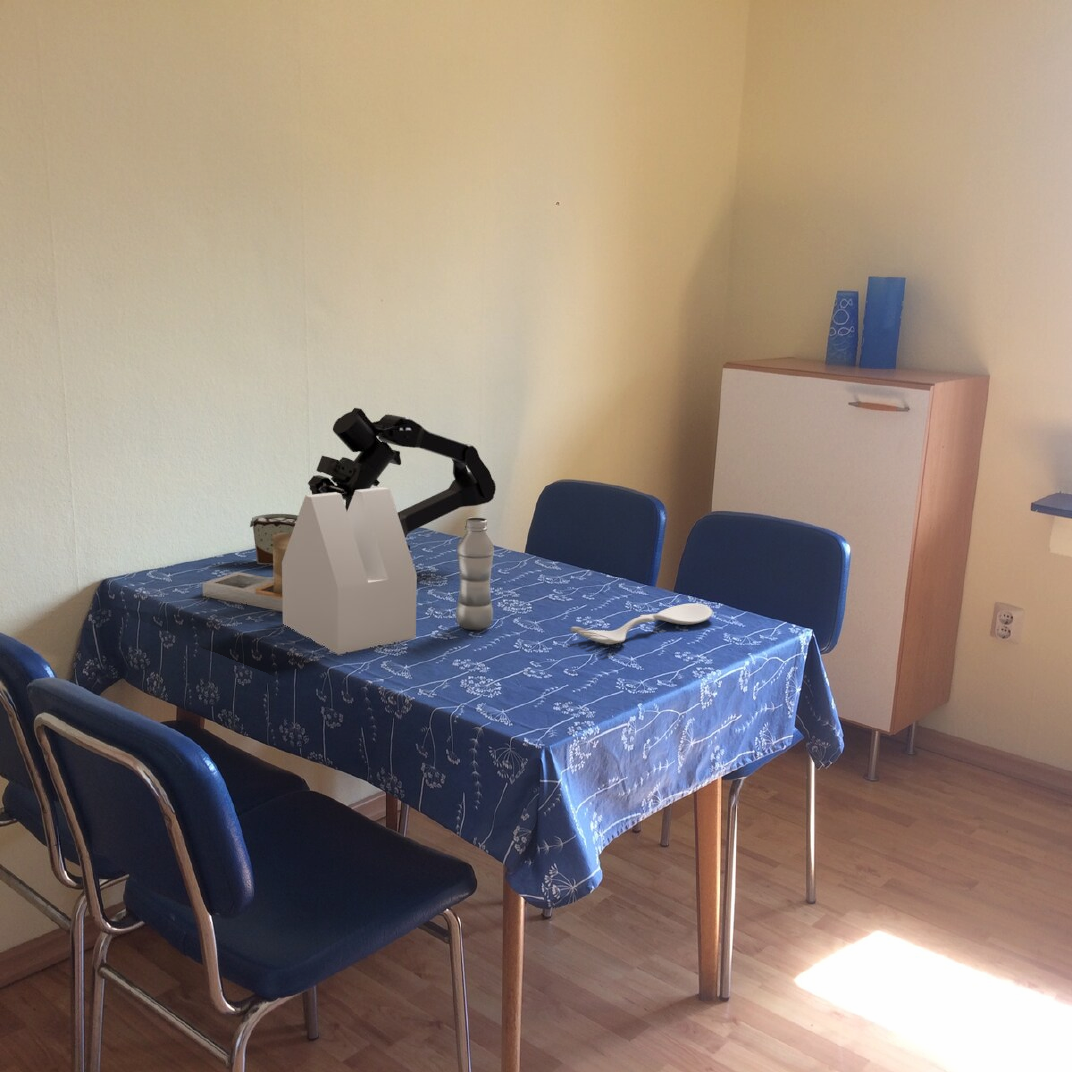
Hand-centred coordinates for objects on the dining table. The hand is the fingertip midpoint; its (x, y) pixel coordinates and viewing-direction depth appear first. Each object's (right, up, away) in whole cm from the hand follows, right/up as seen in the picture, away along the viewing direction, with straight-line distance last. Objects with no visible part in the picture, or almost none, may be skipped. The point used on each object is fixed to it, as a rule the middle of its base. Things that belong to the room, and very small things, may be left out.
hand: (318, 529), depth 212 cm
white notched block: (+8, -18, -17) cm, 26 cm away
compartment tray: (-11, -13, +1) cm, 17 cm away
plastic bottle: (+30, -18, -12) cm, 37 cm away
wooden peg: (-6, -14, -2) cm, 15 cm away
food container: (-13, -7, +28) cm, 31 cm away
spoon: (+62, -19, -10) cm, 65 cm away
